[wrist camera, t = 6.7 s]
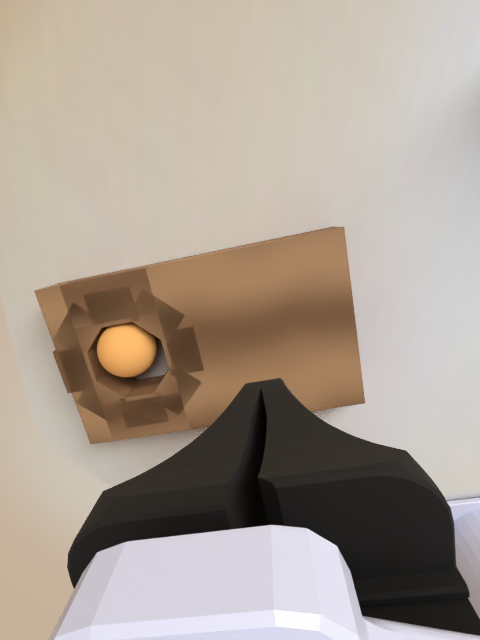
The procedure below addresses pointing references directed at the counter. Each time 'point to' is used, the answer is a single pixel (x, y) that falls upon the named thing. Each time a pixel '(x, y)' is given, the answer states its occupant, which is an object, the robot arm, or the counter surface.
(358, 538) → the robot arm
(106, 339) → the ball
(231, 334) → the board
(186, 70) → the counter surface
